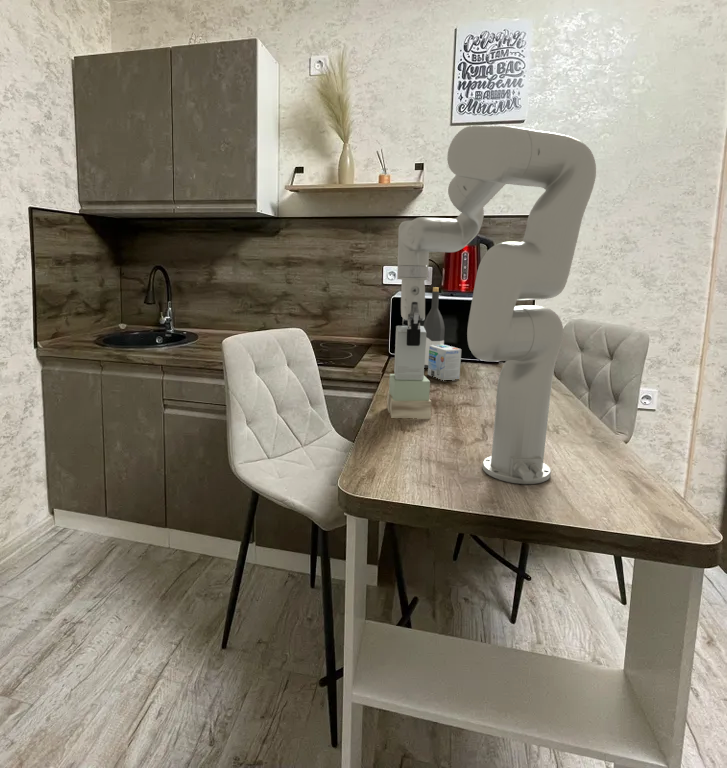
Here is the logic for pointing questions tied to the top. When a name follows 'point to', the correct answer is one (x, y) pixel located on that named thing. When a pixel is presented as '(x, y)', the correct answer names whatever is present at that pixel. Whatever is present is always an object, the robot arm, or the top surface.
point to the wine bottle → (433, 326)
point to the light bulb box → (444, 362)
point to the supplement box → (409, 356)
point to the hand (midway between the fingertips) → (410, 342)
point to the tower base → (409, 408)
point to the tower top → (409, 389)
